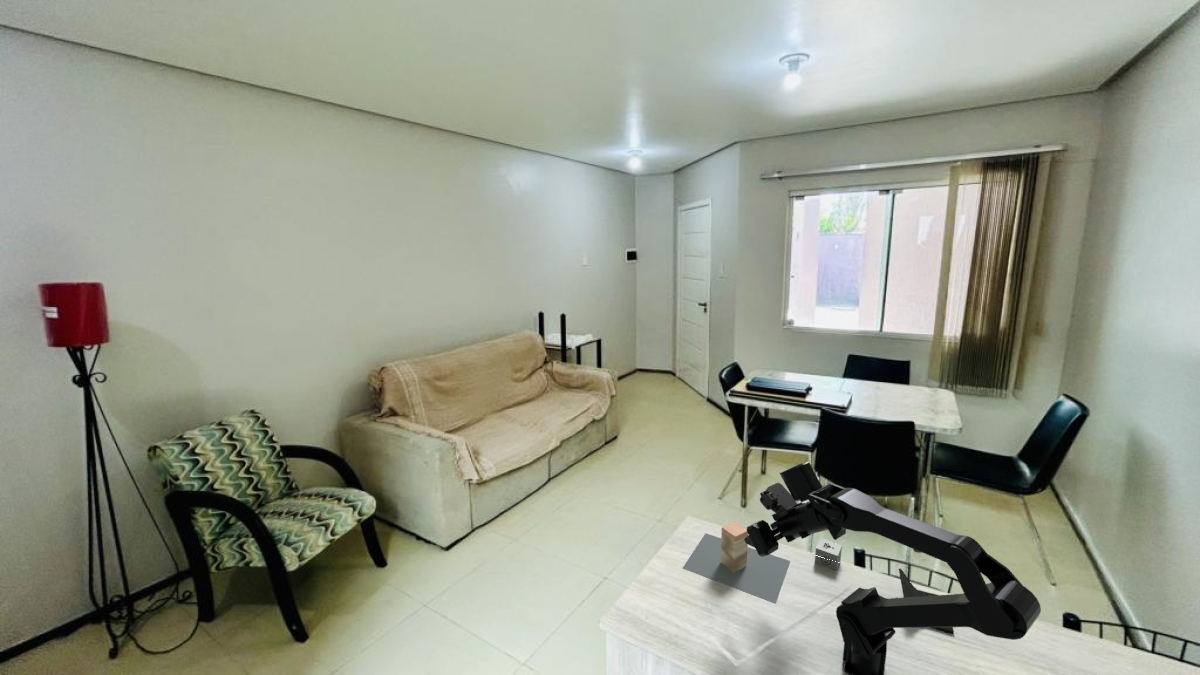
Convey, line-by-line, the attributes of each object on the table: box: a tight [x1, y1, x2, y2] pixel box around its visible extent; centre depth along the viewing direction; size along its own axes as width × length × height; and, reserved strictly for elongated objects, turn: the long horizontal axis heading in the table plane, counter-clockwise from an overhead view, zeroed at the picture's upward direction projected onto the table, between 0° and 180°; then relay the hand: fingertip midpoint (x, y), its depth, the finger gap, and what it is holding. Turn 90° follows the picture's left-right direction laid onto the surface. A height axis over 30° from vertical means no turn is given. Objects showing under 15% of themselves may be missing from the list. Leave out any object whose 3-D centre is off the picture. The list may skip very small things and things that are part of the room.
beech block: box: [720, 521, 749, 572], centre depth 117 cm, size 4×4×10 cm
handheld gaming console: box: [898, 567, 955, 635], centre depth 103 cm, size 12×7×10 cm
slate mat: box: [682, 533, 791, 604], centre depth 118 cm, size 22×16×1 cm
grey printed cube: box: [814, 537, 843, 571], centre depth 118 cm, size 5×5×5 cm
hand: (758, 533), depth 108 cm, fingers open, 9 cm apart
